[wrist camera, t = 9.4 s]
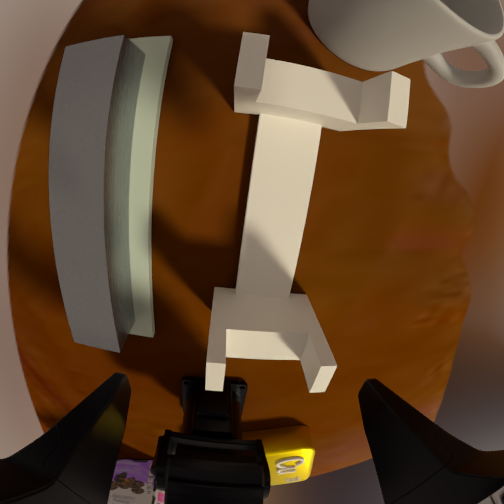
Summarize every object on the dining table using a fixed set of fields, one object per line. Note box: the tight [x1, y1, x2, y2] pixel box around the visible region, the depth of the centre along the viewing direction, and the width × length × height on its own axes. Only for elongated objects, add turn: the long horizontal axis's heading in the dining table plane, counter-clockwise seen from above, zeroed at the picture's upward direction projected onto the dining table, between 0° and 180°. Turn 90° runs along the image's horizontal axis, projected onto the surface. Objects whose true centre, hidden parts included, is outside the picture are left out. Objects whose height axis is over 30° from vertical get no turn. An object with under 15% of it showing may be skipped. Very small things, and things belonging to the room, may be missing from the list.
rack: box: [205, 32, 410, 393], centre depth 15 cm, size 18×7×8 cm, turn 172°
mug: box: [308, 0, 504, 88], centre depth 9 cm, size 12×8×11 cm
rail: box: [49, 35, 146, 353], centre depth 15 cm, size 20×4×4 cm, turn 172°
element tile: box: [242, 425, 315, 485], centre depth 30 cm, size 15×15×5 cm
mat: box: [129, 36, 173, 338], centre depth 17 cm, size 23×7×1 cm, turn 172°
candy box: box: [108, 459, 165, 504], centre depth 27 cm, size 14×6×16 cm, turn 110°
